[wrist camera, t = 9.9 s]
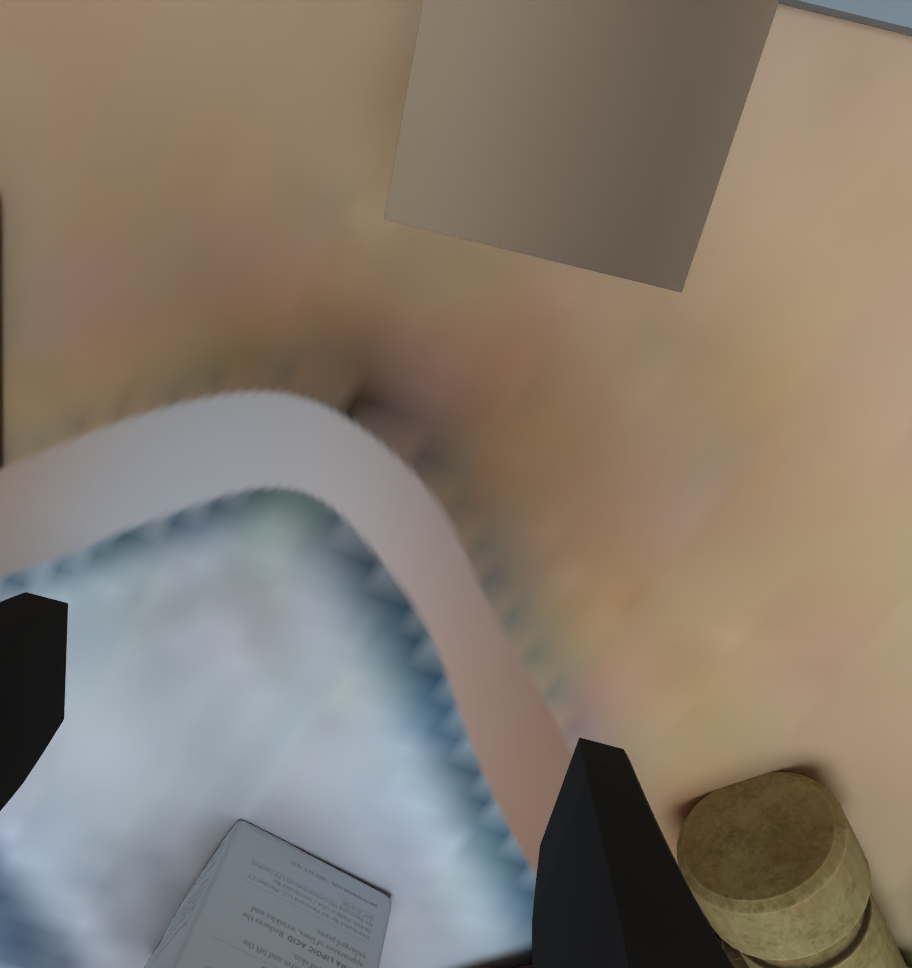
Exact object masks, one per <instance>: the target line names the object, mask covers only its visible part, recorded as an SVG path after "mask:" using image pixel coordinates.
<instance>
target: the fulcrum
mask: <svg viewBox="0 0 912 968" xmlns="http://www.w3.org/2000/svg"><path fill="white" fill-rule="evenodd" d="M779 3H780V4H784V5H789V6H793V7H797V8H801V9H805V10H809V11H813V12H817V13H821V14H825V15H829V16H833V17H837V18H841V19H846V20H850V21H854V22H858V23H862V24H866V25H870V26H874V27H878V28H882V29H886V30H890V31H894V32H898V33H903V34H907V35H911V36H912V0H779Z"/></svg>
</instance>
